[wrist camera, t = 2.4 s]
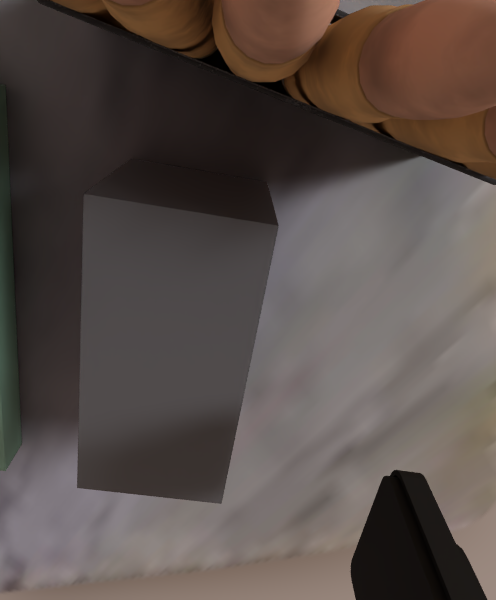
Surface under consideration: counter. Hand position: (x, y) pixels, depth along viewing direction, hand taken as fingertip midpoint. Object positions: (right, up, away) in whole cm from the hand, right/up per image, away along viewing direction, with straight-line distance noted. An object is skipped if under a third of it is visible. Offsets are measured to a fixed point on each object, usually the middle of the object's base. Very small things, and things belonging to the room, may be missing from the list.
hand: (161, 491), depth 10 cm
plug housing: (0, +4, +7) cm, 8 cm away
